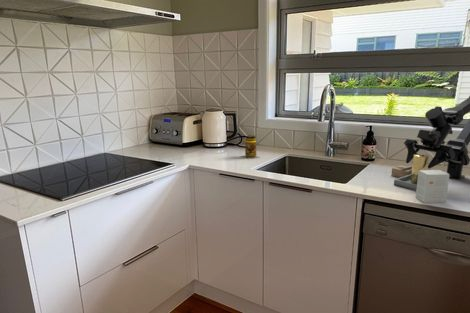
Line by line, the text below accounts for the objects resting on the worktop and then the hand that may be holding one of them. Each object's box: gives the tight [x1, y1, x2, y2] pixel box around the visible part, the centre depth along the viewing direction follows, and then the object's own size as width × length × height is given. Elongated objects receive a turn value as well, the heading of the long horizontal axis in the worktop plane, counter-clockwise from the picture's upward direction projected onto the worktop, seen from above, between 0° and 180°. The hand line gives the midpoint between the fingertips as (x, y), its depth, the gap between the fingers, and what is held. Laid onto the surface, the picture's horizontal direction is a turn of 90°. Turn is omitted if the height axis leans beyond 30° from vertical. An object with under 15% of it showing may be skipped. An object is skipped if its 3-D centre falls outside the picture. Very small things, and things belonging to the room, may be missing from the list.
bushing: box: [410, 153, 429, 185], centre depth 134 cm, size 5×5×12 cm
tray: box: [393, 174, 417, 191], centre depth 136 cm, size 12×12×2 cm
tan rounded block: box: [390, 165, 412, 178], centre depth 148 cm, size 9×7×5 cm
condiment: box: [241, 134, 259, 160], centre depth 185 cm, size 7×8×12 cm
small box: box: [415, 169, 450, 204], centre depth 119 cm, size 8×6×10 cm
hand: (417, 165), depth 133 cm, fingers open, 9 cm apart
